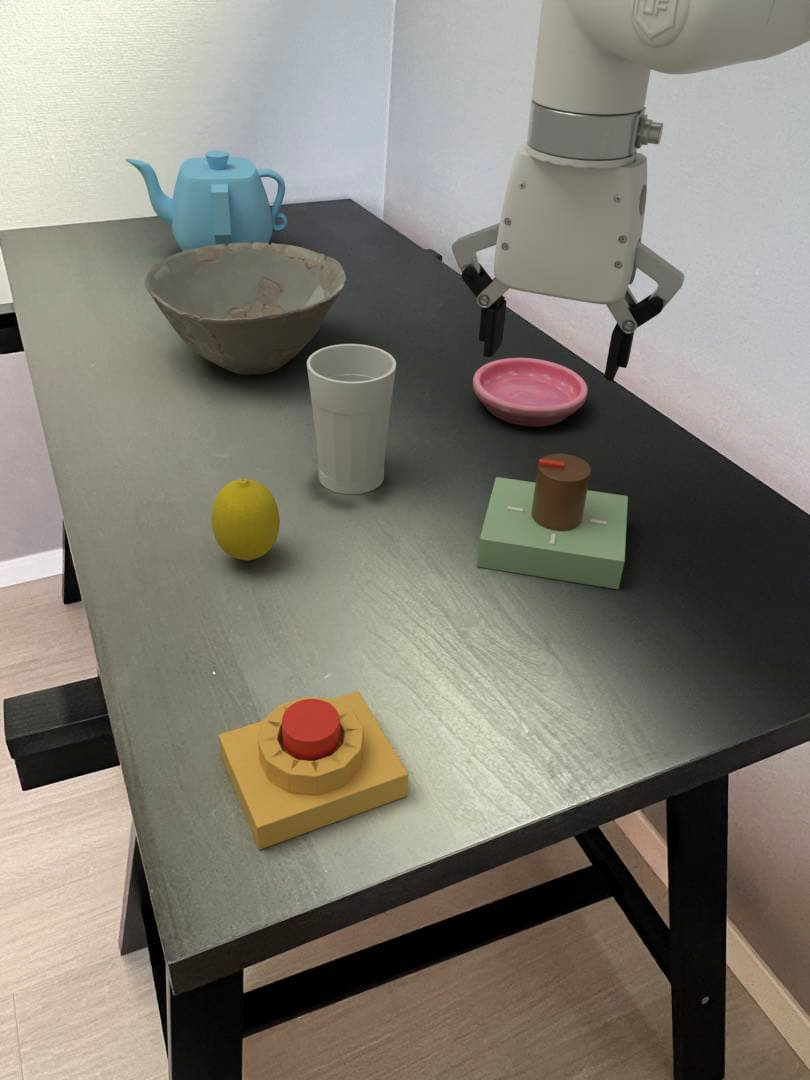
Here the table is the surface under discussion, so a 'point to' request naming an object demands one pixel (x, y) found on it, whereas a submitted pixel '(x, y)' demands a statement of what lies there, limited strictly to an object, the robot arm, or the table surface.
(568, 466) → the knob
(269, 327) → the ceramic bowl
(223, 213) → the teapot
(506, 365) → the saucer
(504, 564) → the panel
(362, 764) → the button box
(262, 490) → the lemon
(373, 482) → the cup
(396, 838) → the table surface
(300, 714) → the button
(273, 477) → the table surface
